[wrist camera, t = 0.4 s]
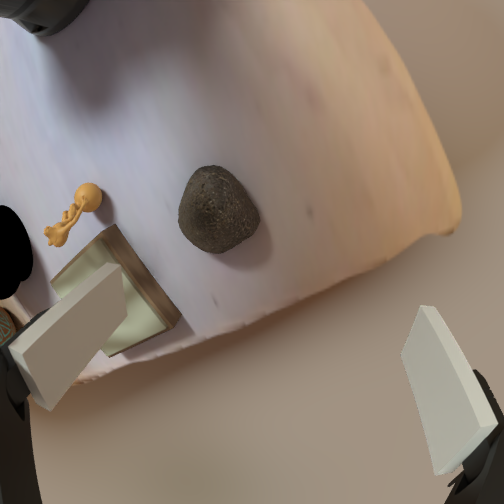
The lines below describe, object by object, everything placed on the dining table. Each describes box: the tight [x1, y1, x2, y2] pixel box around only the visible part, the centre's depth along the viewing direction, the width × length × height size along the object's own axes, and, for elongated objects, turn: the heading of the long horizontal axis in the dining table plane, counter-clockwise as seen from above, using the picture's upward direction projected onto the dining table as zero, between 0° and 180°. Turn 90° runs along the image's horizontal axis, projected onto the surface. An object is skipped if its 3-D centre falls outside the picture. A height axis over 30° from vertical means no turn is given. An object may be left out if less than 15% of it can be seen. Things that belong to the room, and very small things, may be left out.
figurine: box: [44, 183, 102, 247], centre depth 32 cm, size 8×6×12 cm
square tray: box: [50, 224, 182, 358], centre depth 42 cm, size 16×16×4 cm
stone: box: [178, 165, 260, 254], centre depth 34 cm, size 10×8×10 cm
